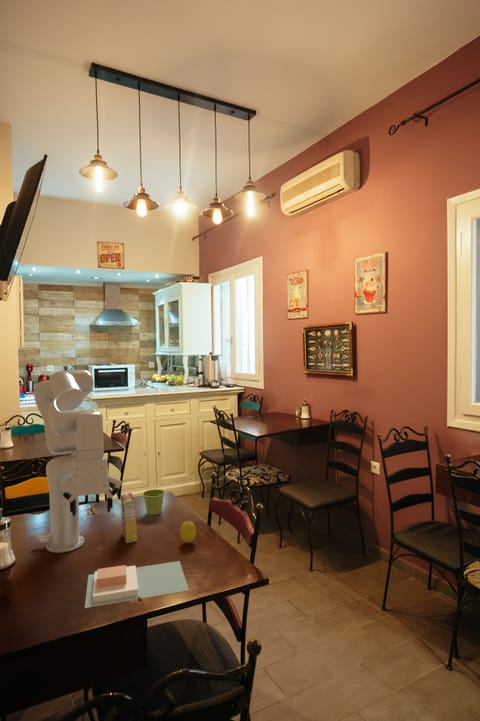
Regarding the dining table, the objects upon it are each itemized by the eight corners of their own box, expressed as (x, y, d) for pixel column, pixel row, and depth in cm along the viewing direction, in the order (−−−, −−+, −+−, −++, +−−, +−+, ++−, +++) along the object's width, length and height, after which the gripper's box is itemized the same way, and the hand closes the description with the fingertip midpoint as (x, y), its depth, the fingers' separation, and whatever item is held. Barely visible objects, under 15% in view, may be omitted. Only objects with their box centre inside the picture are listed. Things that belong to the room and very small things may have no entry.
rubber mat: (84, 609, 116) (84, 608, 116) (88, 575, 133) (88, 574, 133) (188, 591, 124) (188, 590, 124) (179, 561, 141) (179, 561, 141)
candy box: (121, 534, 163) (120, 493, 163) (133, 532, 165) (132, 492, 164) (125, 543, 155) (124, 501, 154) (137, 541, 156) (136, 499, 156)
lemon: (198, 541, 156) (198, 519, 156) (190, 547, 151) (190, 524, 151) (185, 538, 158) (185, 516, 158) (177, 544, 153) (176, 522, 153)
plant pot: (154, 518, 177) (154, 497, 177) (138, 514, 182) (137, 494, 182) (170, 511, 185) (169, 491, 185) (153, 507, 190) (153, 487, 190)
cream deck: (93, 602, 118) (92, 596, 118) (95, 576, 132) (94, 571, 132) (138, 594, 122) (138, 588, 121) (135, 570, 135) (135, 565, 135)
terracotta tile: (97, 588, 122) (97, 579, 122) (97, 577, 128) (97, 569, 128) (126, 583, 124) (126, 574, 124) (125, 573, 130) (125, 564, 130)
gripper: (56, 459, 121) (58, 520, 121) (120, 454, 125) (122, 513, 125) (60, 453, 128) (62, 511, 129) (121, 449, 133) (122, 505, 133)
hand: (91, 512), depth 127 cm, fingers open, 9 cm apart
